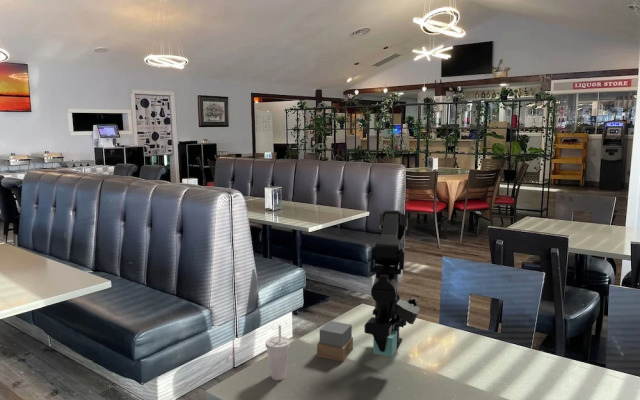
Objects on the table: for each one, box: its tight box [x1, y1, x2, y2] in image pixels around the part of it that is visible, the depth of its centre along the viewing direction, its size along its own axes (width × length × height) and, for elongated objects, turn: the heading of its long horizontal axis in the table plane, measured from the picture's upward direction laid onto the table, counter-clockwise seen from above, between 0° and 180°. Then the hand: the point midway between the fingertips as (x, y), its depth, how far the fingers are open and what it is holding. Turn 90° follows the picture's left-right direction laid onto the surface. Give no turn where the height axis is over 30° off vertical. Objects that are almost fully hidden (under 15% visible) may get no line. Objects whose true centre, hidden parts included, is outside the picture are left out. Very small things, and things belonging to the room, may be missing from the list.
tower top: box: [319, 320, 353, 348], centre depth 133 cm, size 7×7×4 cm
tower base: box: [316, 336, 354, 363], centre depth 133 cm, size 8×8×4 cm
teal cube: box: [372, 330, 398, 357], centre depth 122 cm, size 5×5×5 cm
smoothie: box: [265, 324, 291, 381], centre depth 120 cm, size 6×6×14 cm
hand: (385, 347), depth 122 cm, fingers closed on teal cube, 5 cm apart
